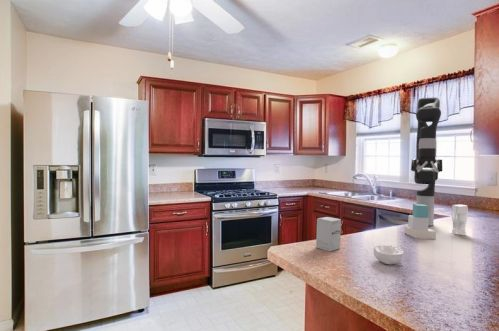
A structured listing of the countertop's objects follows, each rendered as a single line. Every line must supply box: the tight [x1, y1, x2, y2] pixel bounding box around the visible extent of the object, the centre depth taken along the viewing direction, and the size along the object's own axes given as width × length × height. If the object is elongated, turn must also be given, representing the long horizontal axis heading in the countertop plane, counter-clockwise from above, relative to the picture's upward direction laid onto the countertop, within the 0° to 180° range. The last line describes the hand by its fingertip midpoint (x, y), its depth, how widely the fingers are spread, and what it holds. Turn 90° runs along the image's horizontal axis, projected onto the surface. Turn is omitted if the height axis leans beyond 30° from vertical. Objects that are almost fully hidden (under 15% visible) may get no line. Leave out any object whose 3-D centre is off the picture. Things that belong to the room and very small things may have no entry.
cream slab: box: [404, 225, 437, 240], centre depth 150 cm, size 10×10×4 cm
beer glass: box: [451, 204, 469, 236], centre depth 155 cm, size 7×7×15 cm
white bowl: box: [372, 244, 404, 265], centre depth 109 cm, size 10×12×7 cm
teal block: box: [411, 203, 428, 218], centre depth 150 cm, size 5×5×6 cm
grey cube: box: [407, 214, 429, 230], centre depth 150 cm, size 7×7×6 cm
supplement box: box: [315, 216, 342, 252], centre depth 125 cm, size 7×7×13 cm
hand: (426, 180), depth 149 cm, fingers open, 8 cm apart
